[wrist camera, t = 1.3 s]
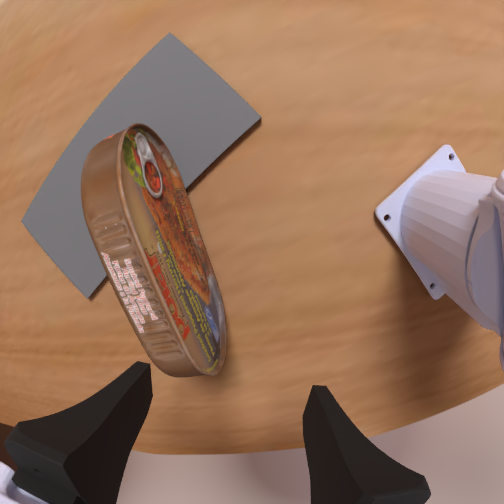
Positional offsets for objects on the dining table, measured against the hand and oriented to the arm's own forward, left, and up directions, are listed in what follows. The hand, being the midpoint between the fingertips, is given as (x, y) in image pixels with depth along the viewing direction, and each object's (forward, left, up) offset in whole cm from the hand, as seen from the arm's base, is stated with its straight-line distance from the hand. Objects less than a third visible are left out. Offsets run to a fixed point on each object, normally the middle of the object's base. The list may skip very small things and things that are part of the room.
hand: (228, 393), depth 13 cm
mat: (+13, 0, -10) cm, 16 cm away
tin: (+6, 0, -10) cm, 12 cm away
